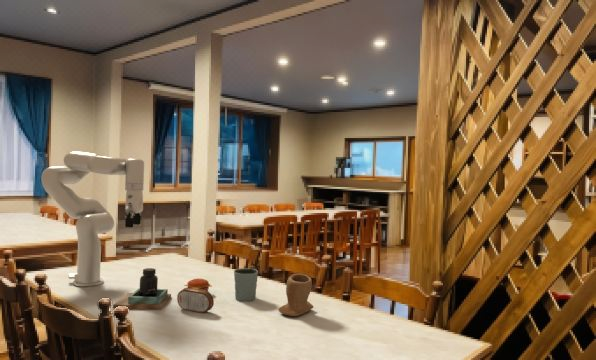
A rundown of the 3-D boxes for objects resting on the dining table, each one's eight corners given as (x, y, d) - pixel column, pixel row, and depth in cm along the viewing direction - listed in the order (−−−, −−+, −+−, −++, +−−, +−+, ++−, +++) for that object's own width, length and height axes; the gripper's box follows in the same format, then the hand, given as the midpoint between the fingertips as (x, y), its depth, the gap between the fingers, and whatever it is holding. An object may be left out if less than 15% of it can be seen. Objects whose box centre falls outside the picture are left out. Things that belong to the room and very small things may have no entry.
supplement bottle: (151, 302, 169) (152, 272, 169) (135, 300, 170) (136, 270, 170) (160, 297, 176) (161, 268, 175) (145, 295, 177) (146, 266, 177)
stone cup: (299, 321, 159) (300, 281, 159) (274, 314, 166) (275, 275, 165) (321, 311, 171) (322, 273, 171) (297, 305, 178) (298, 269, 178)
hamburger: (196, 298, 181) (196, 283, 181) (182, 294, 187) (182, 279, 187) (213, 294, 188) (214, 279, 188) (200, 289, 194) (200, 275, 194)
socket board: (112, 308, 164) (113, 298, 164) (127, 296, 180) (127, 286, 180) (160, 309, 165) (160, 299, 165) (171, 297, 181) (171, 288, 181)
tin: (213, 312, 165) (214, 290, 165) (209, 315, 162) (210, 292, 162) (180, 307, 170) (180, 285, 170) (175, 309, 167) (176, 287, 167)
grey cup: (261, 297, 186) (262, 270, 186) (249, 303, 177) (250, 274, 177) (241, 294, 190) (242, 267, 190) (228, 299, 181) (229, 271, 181)
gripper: (136, 188, 181) (135, 228, 181) (148, 186, 198) (147, 223, 199) (118, 187, 181) (117, 228, 181) (132, 186, 198) (131, 223, 198)
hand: (133, 225), depth 190 cm, fingers open, 9 cm apart
